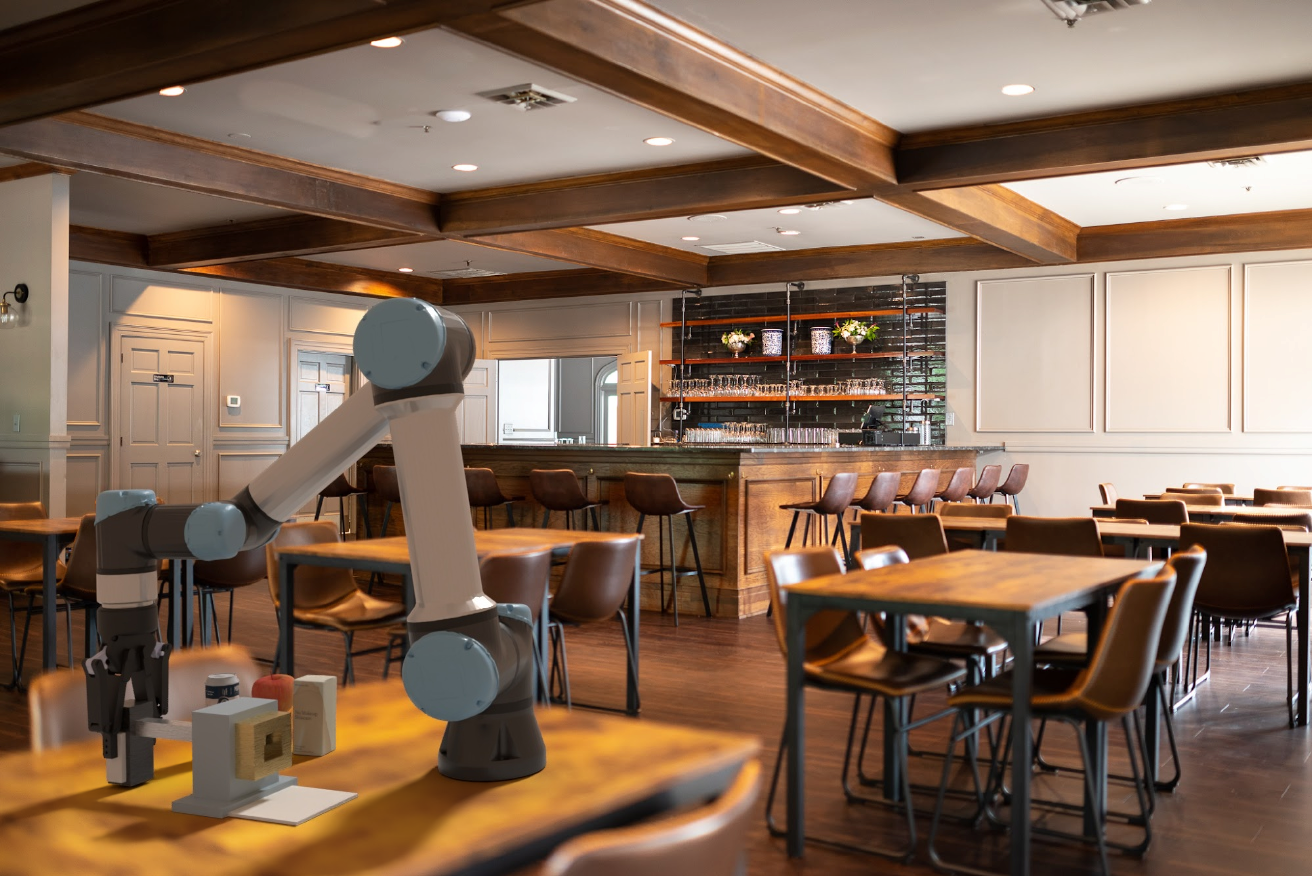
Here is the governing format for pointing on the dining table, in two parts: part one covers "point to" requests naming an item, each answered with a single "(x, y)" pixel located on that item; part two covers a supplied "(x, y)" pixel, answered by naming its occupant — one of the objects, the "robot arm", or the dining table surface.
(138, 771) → the shaft
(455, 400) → the robot arm
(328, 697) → the box
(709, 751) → the dining table surface
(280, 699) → the apple
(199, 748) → the bearing block
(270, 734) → the collar
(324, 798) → the mat
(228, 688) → the beer can
